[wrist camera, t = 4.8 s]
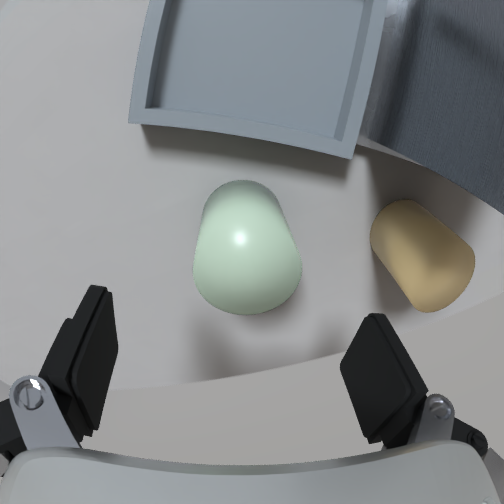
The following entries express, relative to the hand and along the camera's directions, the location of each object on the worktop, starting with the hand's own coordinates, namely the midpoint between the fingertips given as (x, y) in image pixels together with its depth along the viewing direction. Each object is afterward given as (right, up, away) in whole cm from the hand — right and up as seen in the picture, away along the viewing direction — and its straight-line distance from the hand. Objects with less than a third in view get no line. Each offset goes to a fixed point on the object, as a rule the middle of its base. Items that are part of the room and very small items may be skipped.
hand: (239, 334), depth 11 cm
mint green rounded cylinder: (0, +5, +8) cm, 9 cm away
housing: (+11, +15, +3) cm, 19 cm away
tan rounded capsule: (+11, +4, +9) cm, 15 cm away
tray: (+1, +14, +3) cm, 15 cm away
